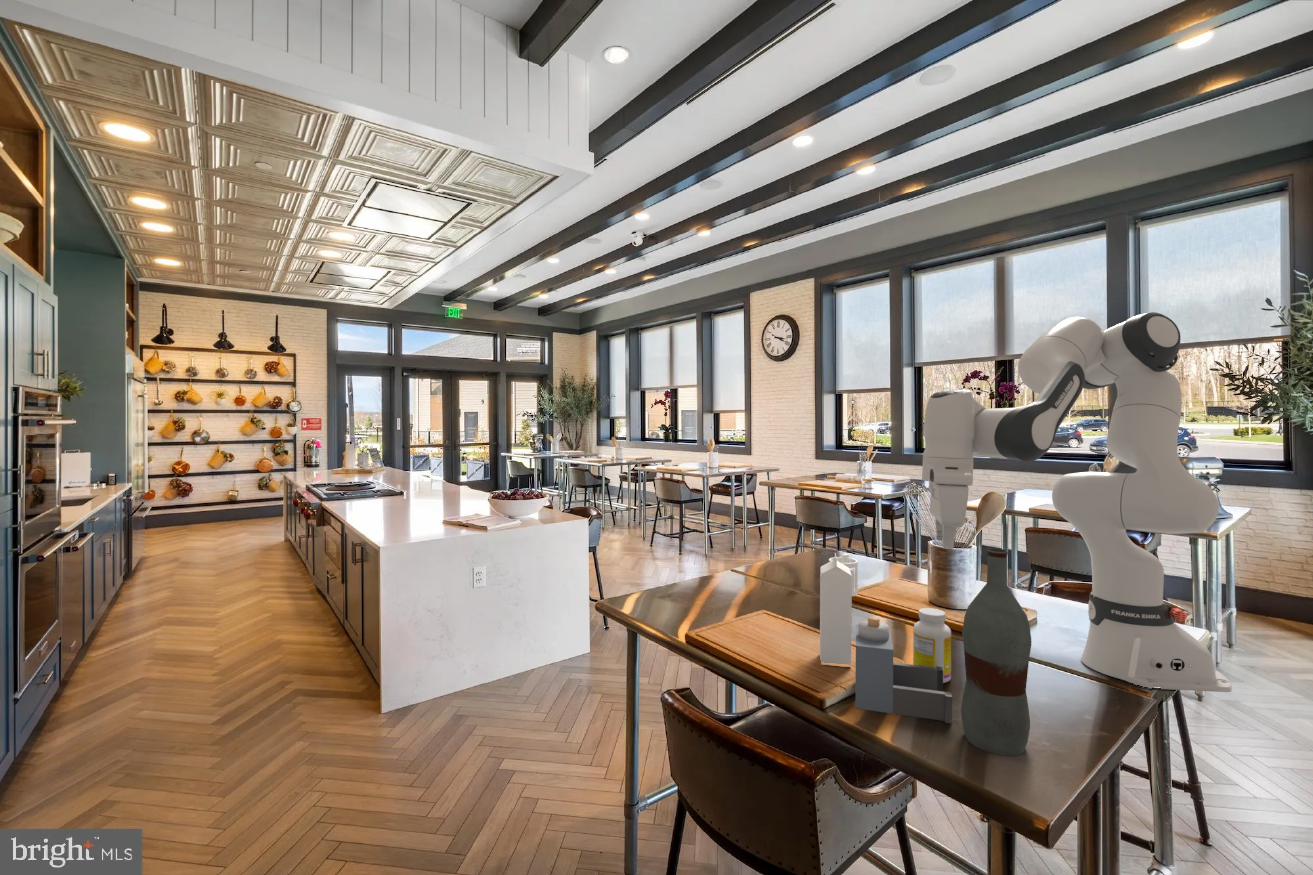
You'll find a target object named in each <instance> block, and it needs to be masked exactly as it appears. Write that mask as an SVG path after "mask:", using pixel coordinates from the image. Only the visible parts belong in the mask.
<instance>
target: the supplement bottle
mask: <svg viewBox="0 0 1313 875" xmlns="http://www.w3.org/2000/svg"><path fill="white" fill-rule="evenodd" d="M918 617H919V620H918V621H917V622H915V623H914V625H913V631H912V633H913V638H912V639H913V644H912V645H913V646H912V647H913V648H912V650H913V658H912V659H913V664H912V665H919V666H927V667H936V666H938V667H942V669H943V684H945V683H948V682H950V680H951V679H952V630H951V628H950V627H949V626H948V625H947V624H945V621H946V619H947V618H946V617H947V616H946V612H945V611H943V610H941V609H937V608H933V607H923V608H919V609H918Z"/></svg>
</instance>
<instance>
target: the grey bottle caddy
mask: <svg viewBox="0 0 1313 875" xmlns="http://www.w3.org/2000/svg"><path fill="white" fill-rule="evenodd" d="M855 709H859V710H865V711H873V712H878V713H879V712H880V713H887V714H892V715H893V714H894V715H899V716H901V715H902V716H907V717H913V718H921V719H928V720H935V721H941V722H944V723H945V724H950V725H952V723H953V695H952V693H951V692H949V691H944V683H943V669H942V667H938V666H936V667H927V666H919V665H913V664H911V663H908V664H907V663H903V662H902V663H900V662H894V645H893V638H892V634H891V628H890V626H889V625H888V624H887V623H885V622H881V619H880V618H879V617H876V616H869V617H867V619H866V620H861V621H859V622H858V624H855Z"/></svg>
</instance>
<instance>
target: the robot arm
mask: <svg viewBox="0 0 1313 875" xmlns="http://www.w3.org/2000/svg"><path fill="white" fill-rule="evenodd" d="M1180 348H1181V332H1180V329H1179V327H1178V325H1177V324H1176V322H1174V321H1173V319H1171V318H1169V317H1168V316H1167V315H1165V314H1162V313H1159V312H1154V311H1151V312H1145V313H1142V314H1137V315H1135V316H1132V317H1130V318H1128V319H1126V320H1125V321H1123V322H1121V323H1118V324H1116V325H1114V326H1111V327H1109V328H1107V329H1105V330H1102V328H1101V327H1100V325H1099V324H1097V323H1096V322H1095V321H1094V320H1092V319H1089V318H1086V317H1082V316H1081V317H1080V316H1075V317H1069V318H1067V319H1066V318H1065V319H1064V320H1062V321H1061V322H1059V323H1057V324H1056V325H1054V326H1053V327H1051V328H1049V329H1048V330H1047V331H1046V332H1044V333H1043V334H1041V336H1040V337H1038V338H1037V339H1036V340H1034V342H1033V343H1032V344H1031V345H1030V346H1029V347H1027V349H1026V350H1025V351H1024V352H1023V353H1022V355H1021V357H1020V358H1019V361H1018V364H1017V366H1018V367H1017V369H1018V374H1019V377H1020V379H1021V381H1022V383H1023V384H1024V385H1025V386H1026V387H1027V388H1029V389H1030V390H1031V391H1032V392H1034V393H1035V394H1038V395H1037V396H1036V398H1035V399H1034V401H1033V402H1032V403H1029V404H1027V405H1022V406H1016V407H1002V408H1001V407H999V408H998V407H997V408H996V407H995V408H989V407H987V406H985V405H983V404H981V403H980V402H978V401H977V400H976V399H975V397H974V396H973V392H972V391H971V390H970V389H966V388H965V389H963V388H961V389H959V388H958V389H950V390H942V391H937V392H934V393H932V394H931V395H930V396H929V397H928V399H927V400H928V401H927V403H926V406H925V412H924V413H925V414H924V421H923V423H924V424H923V438H924V442H925V446H924V447H925V448H924V450H923V453H922V469H921V470H922V473H921V480H922V481H924V482H928V490H930V500H929V511H930V514H931V515H932V517H934V520H935V521H934V523H935V539H937V541H941V542H942V543H941V545H942V548H943V549H946V550H947V549H948V550H953V549H954V548H955V537H956V534H957V528H962V527H963V526H964V524H965V521H966V514H967V507H968V499H969V487H972V486H973V482H974V478H973V477H974V457H979V458H991V459H993V458H995V459H1008V460H1015V461H1020V462H1030V463H1031V462H1035V461H1037V460H1039V459H1040V458H1042V457H1043V456H1044V455H1045V454H1046V453H1047V452H1048V451H1049V450H1050V449H1051V447H1052V445H1053V443H1054V441H1055V438H1056V435H1057V432H1058V429H1059V428H1060V426H1061V425H1062V423H1063V421H1064V420H1065V418H1066V417H1067V415H1068V414H1069V412H1070V411H1071V409H1072V407H1073V406H1074V404H1076V402H1077V400H1078V399H1079V397H1080V395H1081V393H1082V391H1083V390H1084V389H1085V390H1096V389H1097V390H1098V389H1101V388H1102V389H1103V388H1106V387H1108V386H1110V385H1112V384H1114V385H1115V386H1116V392H1117V395H1116V396H1117V397H1116V400H1115V402H1114V405H1113V409H1112V413H1111V418H1110V422H1109V427H1108V432H1107V435H1106V436H1107V437H1106V440H1105V443H1106V444H1105V445H1106V448H1107V451H1108V452H1109V454H1111V456H1112V457H1113V458H1115V459H1117V460H1118V461H1119V462H1121V463H1123V464H1124V465H1127V466H1129V467H1132V468H1134V469H1135V470H1136V471H1135V472H1130V473H1127V472H1126V473H1124V472H1123V473H1121V472H1109V471H1108V472H1106V471H1105V472H1104V471H1090V470H1089V471H1081V472H1073V473H1066V474H1063V475H1062V476H1061V477H1060V478H1059V479H1058V480H1057V481H1056V483H1055V484H1054V486H1053V489H1052V493H1051V500H1052V504H1053V506H1054V509H1055V510H1056V512H1057V513H1058V514H1059V516H1061V517H1062V518H1063V519H1064V520H1065V521H1067V522H1068V523H1070V525H1072V526H1073V528H1075V530H1076V531H1077V532H1078V533H1079V534H1080V536H1081V537H1082V539H1083V541H1084V542H1085V544H1086V545H1085V546H1087V549H1088V552H1089V555H1090V563H1091V575H1092V576H1091V578H1092V579H1091V580H1092V581H1091V582H1092V583H1091V584H1092V586H1091V587H1092V589H1091V592H1089V598H1088V599H1089V600H1088V603H1087V604H1088V608H1087V609H1088V611H1087V612H1088V619H1089V622H1090V623H1089V630H1088V633H1087V637H1086V638H1087V639H1086V642H1085V646H1084V649H1083V652H1082V654H1081V656H1080V661H1081V662H1082V664H1084V665H1085V666H1087V667H1088V668H1090V669H1092V670H1094V671H1096V672H1099V673H1100V674H1104V675H1107V676H1109V677H1113V678H1115V679H1120V680H1122V681H1126V682H1128V683H1130V684H1132V683H1133V684H1132V685H1135V686H1137V685H1140V686H1143V687H1142V688H1144V687H1161V689H1160V690H1173V691H1174V690H1176V691H1178V690H1179V691H1196V692H1197V691H1198V692H1215V693H1231V692H1232V690H1233V689H1232V683H1231V681H1230V680H1229V679H1228V678H1227V677H1226V676H1224V674H1223V673H1221V672H1220V671H1218V670H1217V669H1216V667H1215V663H1214V659H1213V656H1212V653H1211V652H1210V650H1209V649H1208V648H1207V646H1205V645H1204V644H1203V643H1202V642H1200V641H1199V640H1198V639H1196V638H1195V637H1194V636H1193V635H1191V634H1190V633H1189V632H1187V631H1186V630H1185V629H1183V628H1182V627H1180V626H1179V625H1178V624H1176V623H1175V621H1174V620H1176V621H1178V622H1184V621H1186V620H1187V618H1188V614H1187V612H1186V611H1183V610H1182V609H1180V608H1177V607H1173V606H1171V605H1170V604H1168V603H1166V602H1165V601H1164V582H1165V580H1164V578H1165V577H1164V576H1165V569H1164V566H1163V563H1162V562H1161V561H1160V559H1159V558H1158V557H1157V556H1156V555H1154V554H1153V553H1151V551H1148V550H1146V549H1145V548H1142V547H1141V546H1139V545H1137V544H1136V543H1134V541H1132V540H1131V538H1130V537H1129V536H1128V534H1127V530H1134V531H1140V532H1141V531H1143V532H1152V533H1158V534H1159V533H1160V534H1167V535H1173V534H1174V535H1176V534H1177V535H1179V534H1180V535H1181V534H1200V533H1203V532H1205V531H1207V530H1208V529H1209V528H1210V527H1211V526H1212V525H1213V524H1214V523H1215V521H1216V520H1217V518H1218V515H1219V509H1220V507H1219V505H1220V504H1219V500H1218V497H1217V495H1216V493H1215V492H1214V491H1213V489H1212V487H1210V486H1209V485H1208V484H1207V483H1205V482H1203V481H1202V480H1200V479H1199V478H1197V477H1195V475H1193V474H1191V473H1190V472H1189V471H1188V470H1187V468H1185V467H1184V465H1183V463H1182V462H1181V460H1180V456H1179V454H1178V440H1179V439H1178V438H1179V429H1180V423H1181V418H1182V406H1183V405H1182V401H1183V400H1182V390H1181V384H1180V381H1179V379H1178V378H1177V377H1176V376H1175V375H1174V374H1173V373H1171V372H1169V370H1170V369H1172V368H1173V367H1174V366H1175V365H1176V364H1177V362H1178V360H1179V356H1178V354H1179V351H1180ZM1190 665H1191V666H1190ZM1185 676H1186V677H1185ZM1140 686H1139V687H1140Z"/></svg>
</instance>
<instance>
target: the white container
mask: <svg viewBox="0 0 1313 875" xmlns="http://www.w3.org/2000/svg"><path fill="white" fill-rule="evenodd" d="M836 558H837V561H839V562H840V563H842V564H843V565H845V566H847V567H848V568H850V571H851V575H852V597H856V596H857V595H858V594H859V589H858V587H859V586H858V585H859V560H857V559H856V558H852V557H850V553H843V554H841V556H836ZM833 560H835V556H834V557H830V558H828V563H829V562H831V561H833Z"/></svg>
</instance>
